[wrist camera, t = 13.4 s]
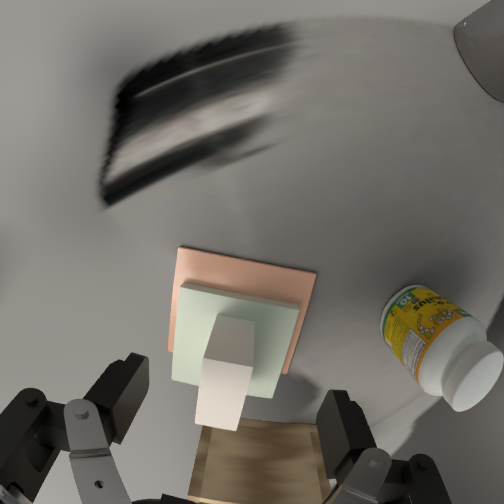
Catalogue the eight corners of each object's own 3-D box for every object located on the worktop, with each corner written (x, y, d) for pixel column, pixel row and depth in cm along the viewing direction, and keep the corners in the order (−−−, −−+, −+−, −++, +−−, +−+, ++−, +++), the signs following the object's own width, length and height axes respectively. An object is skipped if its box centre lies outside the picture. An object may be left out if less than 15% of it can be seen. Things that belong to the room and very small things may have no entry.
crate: (316, 424, 21) (333, 503, 12) (286, 475, 23) (291, 538, 14) (205, 411, 20) (187, 495, 12) (197, 465, 23) (185, 529, 14)
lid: (297, 304, 18) (314, 352, 12) (271, 390, 19) (274, 447, 14) (183, 281, 18) (152, 321, 12) (174, 371, 19) (152, 424, 13)
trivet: (315, 272, 18) (316, 274, 17) (285, 371, 19) (286, 374, 19) (180, 246, 18) (178, 247, 17) (169, 348, 19) (167, 351, 19)
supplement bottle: (372, 348, 19) (426, 432, 10) (384, 283, 18) (465, 349, 8) (425, 341, 19) (488, 407, 10) (439, 281, 18) (522, 331, 8)
